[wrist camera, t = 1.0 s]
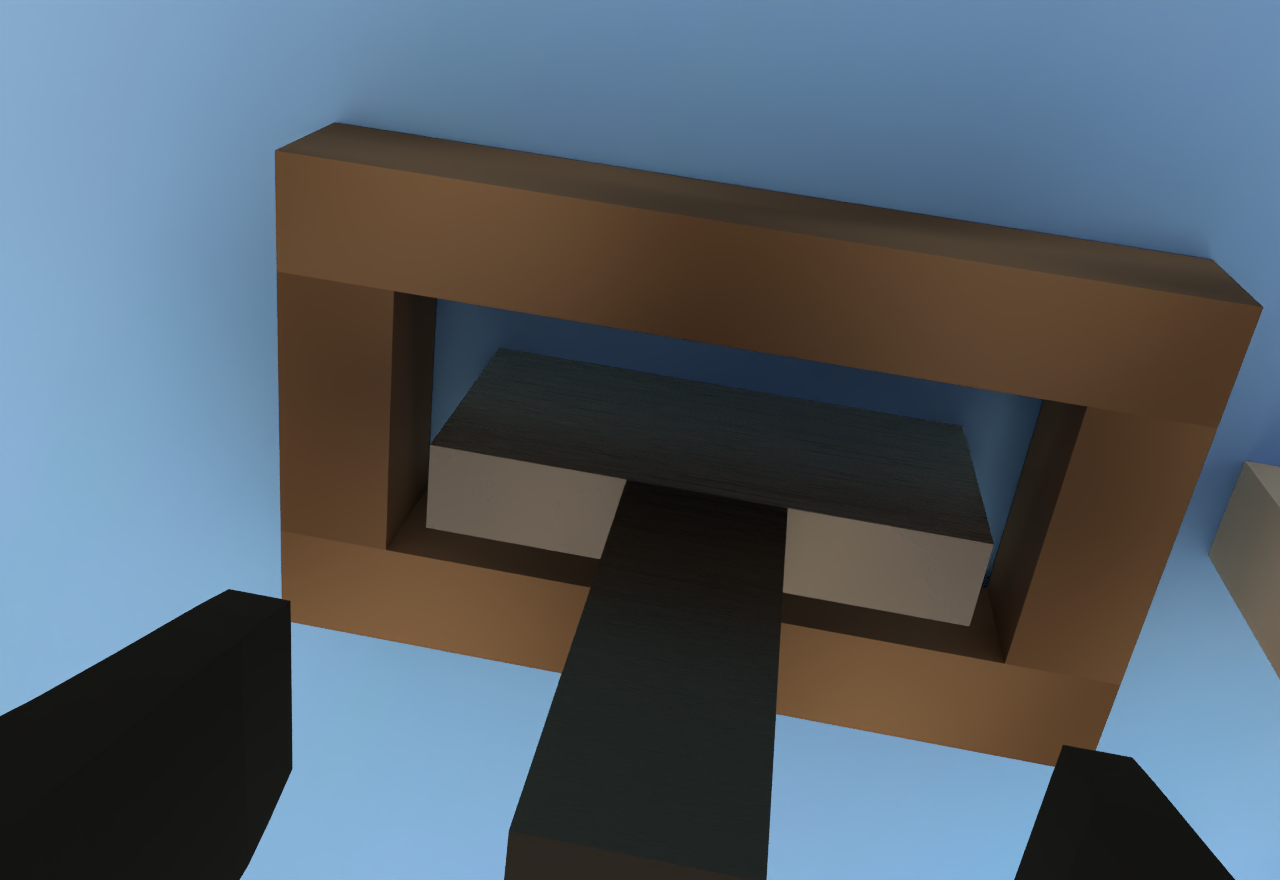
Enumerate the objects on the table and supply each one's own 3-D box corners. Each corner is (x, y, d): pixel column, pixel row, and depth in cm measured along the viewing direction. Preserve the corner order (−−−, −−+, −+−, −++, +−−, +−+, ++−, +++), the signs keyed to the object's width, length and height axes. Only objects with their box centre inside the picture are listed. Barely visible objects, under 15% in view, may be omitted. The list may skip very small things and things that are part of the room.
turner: (962, 425, 17) (1101, 949, 9) (943, 496, 18) (1054, 1056, 9) (499, 347, 18) (198, 769, 9) (494, 418, 18) (205, 879, 10)
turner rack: (1212, 259, 16) (1263, 306, 14) (1061, 688, 19) (1087, 772, 17) (334, 122, 16) (274, 150, 15) (331, 553, 20) (281, 620, 18)
